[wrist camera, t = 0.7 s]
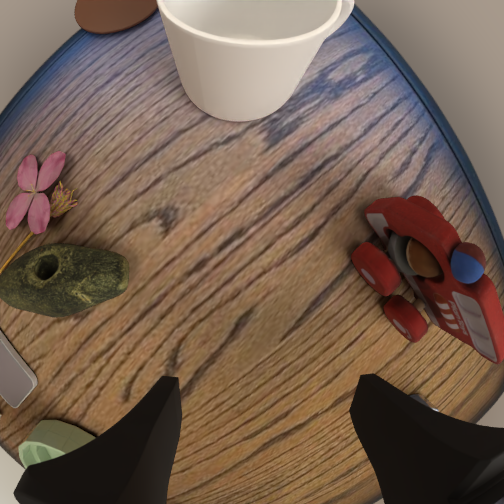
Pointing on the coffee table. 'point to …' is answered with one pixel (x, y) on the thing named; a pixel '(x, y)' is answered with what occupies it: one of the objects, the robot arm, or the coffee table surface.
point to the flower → (34, 192)
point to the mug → (246, 50)
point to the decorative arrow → (55, 207)
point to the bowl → (51, 441)
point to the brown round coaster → (112, 14)
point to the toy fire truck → (431, 275)
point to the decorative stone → (63, 279)
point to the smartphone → (14, 375)
